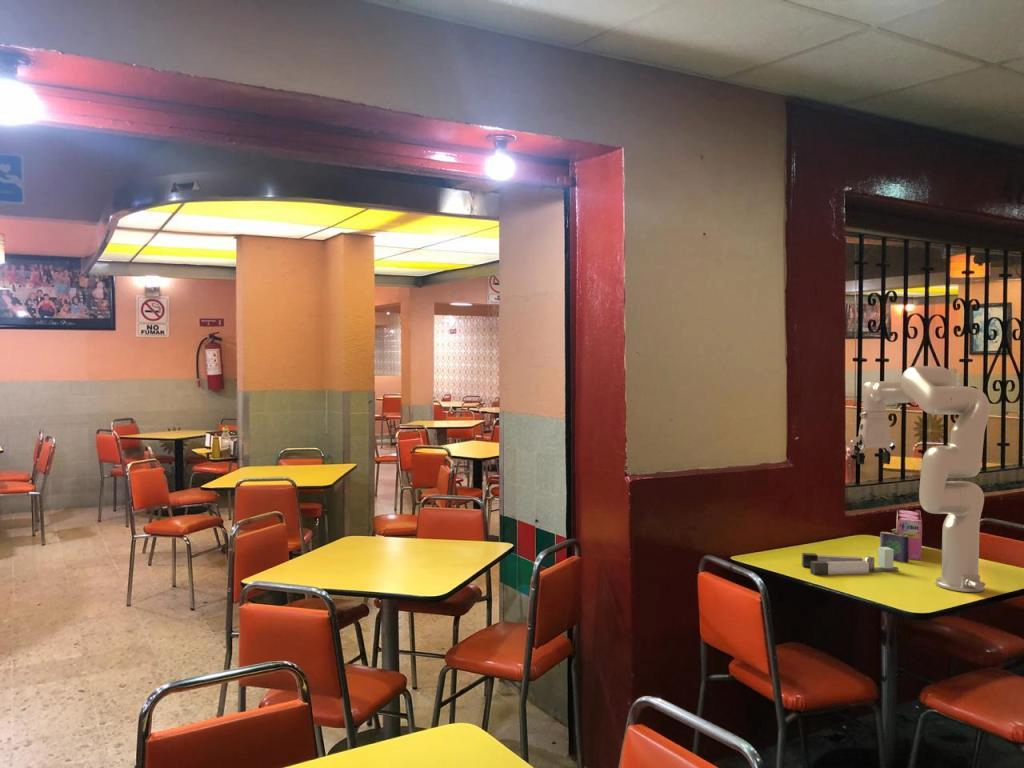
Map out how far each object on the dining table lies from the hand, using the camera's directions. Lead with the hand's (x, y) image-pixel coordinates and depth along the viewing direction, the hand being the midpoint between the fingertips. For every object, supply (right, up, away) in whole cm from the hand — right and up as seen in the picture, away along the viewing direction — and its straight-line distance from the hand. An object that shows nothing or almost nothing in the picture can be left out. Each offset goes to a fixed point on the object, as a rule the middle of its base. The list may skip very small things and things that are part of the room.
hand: (873, 463), depth 273 cm
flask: (+1, -32, -12) cm, 34 cm away
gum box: (+12, -32, -1) cm, 34 cm away
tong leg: (-25, -31, -23) cm, 46 cm away
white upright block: (-9, -30, -26) cm, 41 cm away
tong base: (-19, -32, -28) cm, 47 cm away
